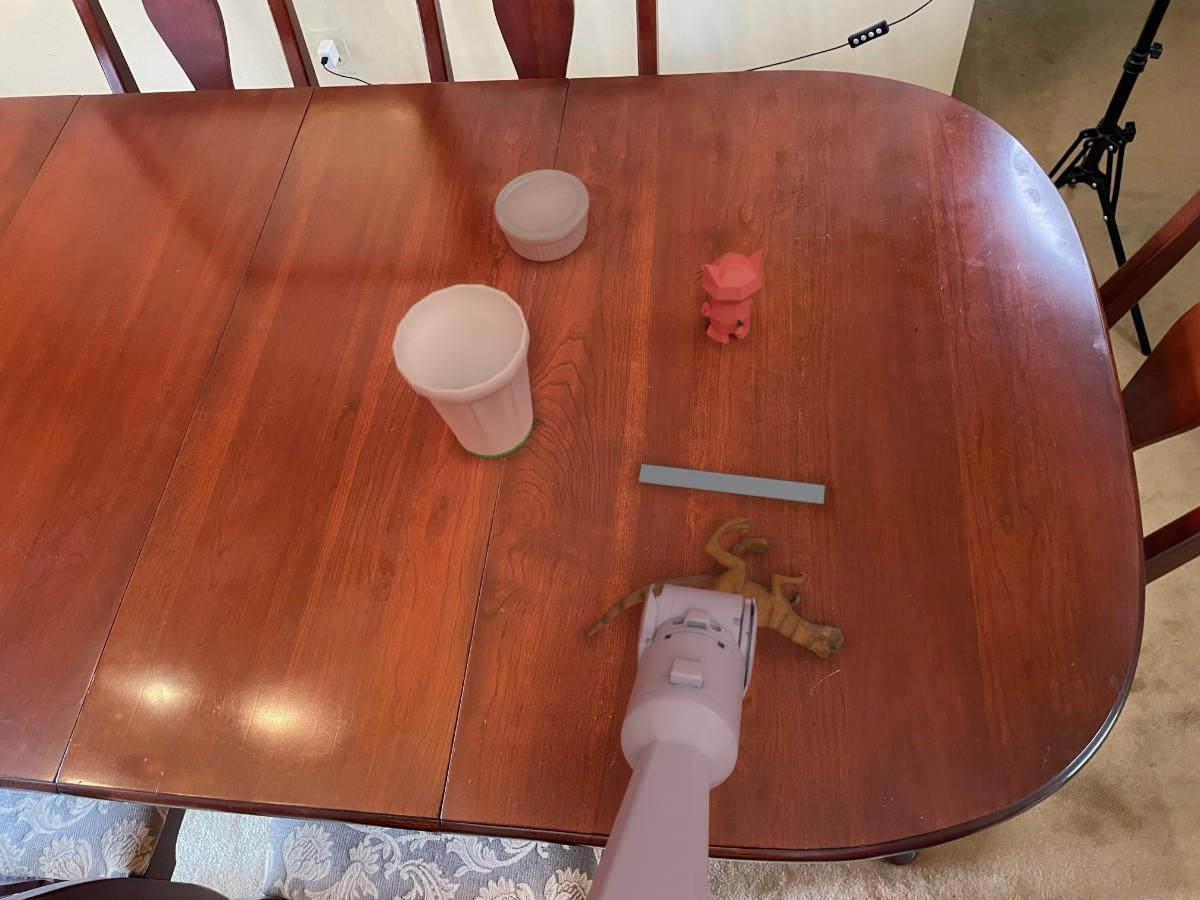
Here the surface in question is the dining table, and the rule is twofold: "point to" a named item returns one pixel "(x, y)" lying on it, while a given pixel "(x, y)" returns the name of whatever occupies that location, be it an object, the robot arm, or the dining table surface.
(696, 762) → the robot arm
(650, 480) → the tape line
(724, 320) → the cat figurine
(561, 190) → the ramekin
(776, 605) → the dinosaur figurine
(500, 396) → the cup
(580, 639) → the dining table surface
